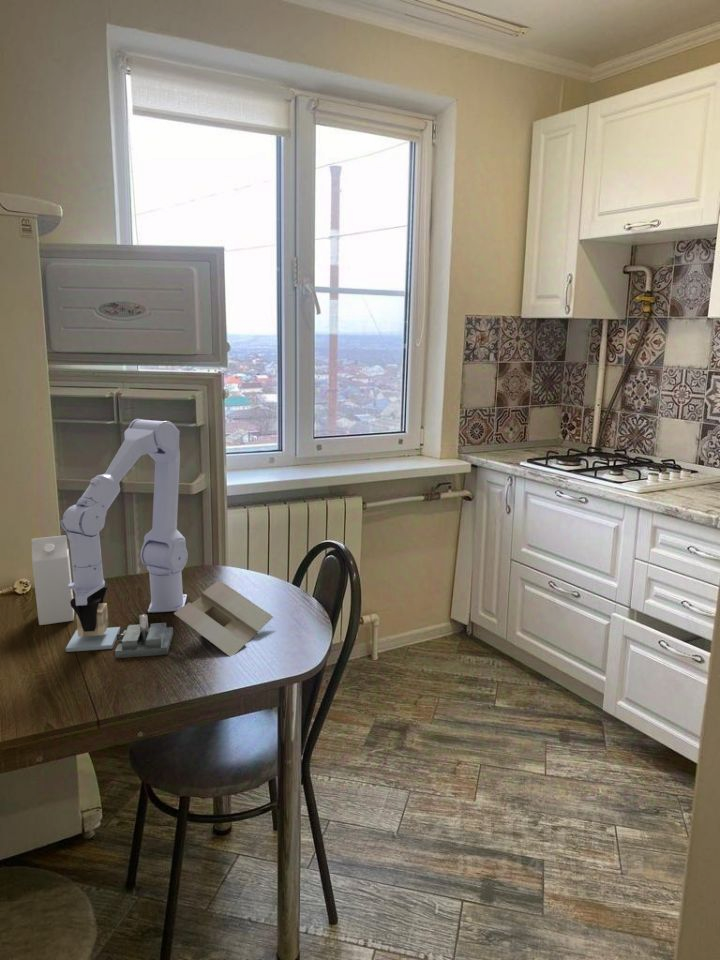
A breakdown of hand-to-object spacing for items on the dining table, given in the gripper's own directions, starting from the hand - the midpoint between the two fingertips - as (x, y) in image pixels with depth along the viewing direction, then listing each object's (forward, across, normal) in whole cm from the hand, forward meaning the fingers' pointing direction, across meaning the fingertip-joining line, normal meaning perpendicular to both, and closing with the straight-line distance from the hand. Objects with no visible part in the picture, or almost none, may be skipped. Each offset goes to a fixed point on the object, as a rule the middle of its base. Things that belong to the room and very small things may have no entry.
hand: (92, 625), depth 146 cm
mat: (+3, 0, 0) cm, 3 cm away
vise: (+3, +4, +11) cm, 12 cm away
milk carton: (+4, -14, -11) cm, 18 cm away
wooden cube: (+1, 0, 0) cm, 1 cm away
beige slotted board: (+4, +2, +28) cm, 28 cm away
